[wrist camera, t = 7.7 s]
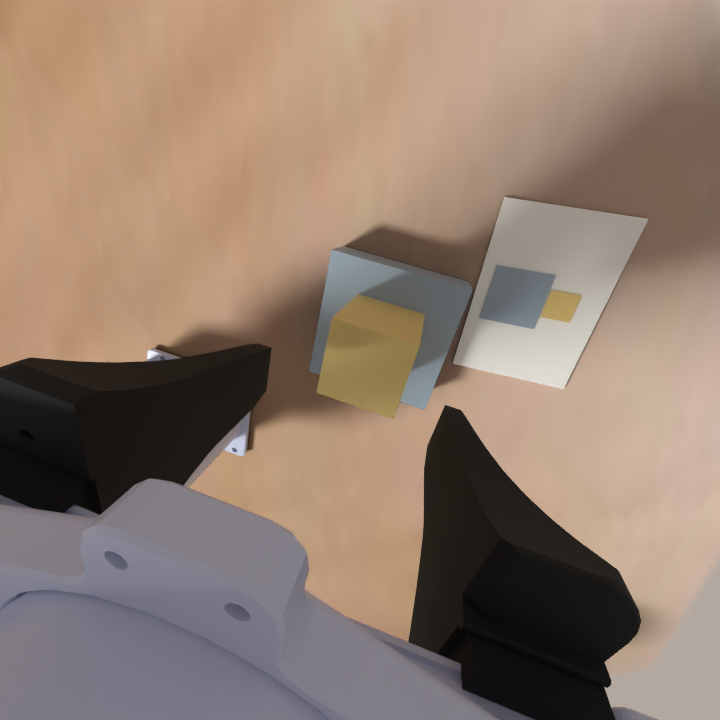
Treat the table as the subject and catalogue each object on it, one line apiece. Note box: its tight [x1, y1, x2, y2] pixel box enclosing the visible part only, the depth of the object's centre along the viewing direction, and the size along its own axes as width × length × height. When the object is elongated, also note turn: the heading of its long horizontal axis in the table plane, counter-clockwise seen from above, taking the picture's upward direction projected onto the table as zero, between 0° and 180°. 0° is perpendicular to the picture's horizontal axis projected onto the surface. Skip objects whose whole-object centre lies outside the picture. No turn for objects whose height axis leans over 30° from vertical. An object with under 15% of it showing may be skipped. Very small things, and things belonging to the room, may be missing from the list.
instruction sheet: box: [453, 197, 648, 389], centre depth 19 cm, size 7×10×1 cm
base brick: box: [309, 246, 473, 410], centre depth 20 cm, size 8×8×2 cm
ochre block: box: [316, 294, 425, 419], centre depth 17 cm, size 4×4×5 cm
